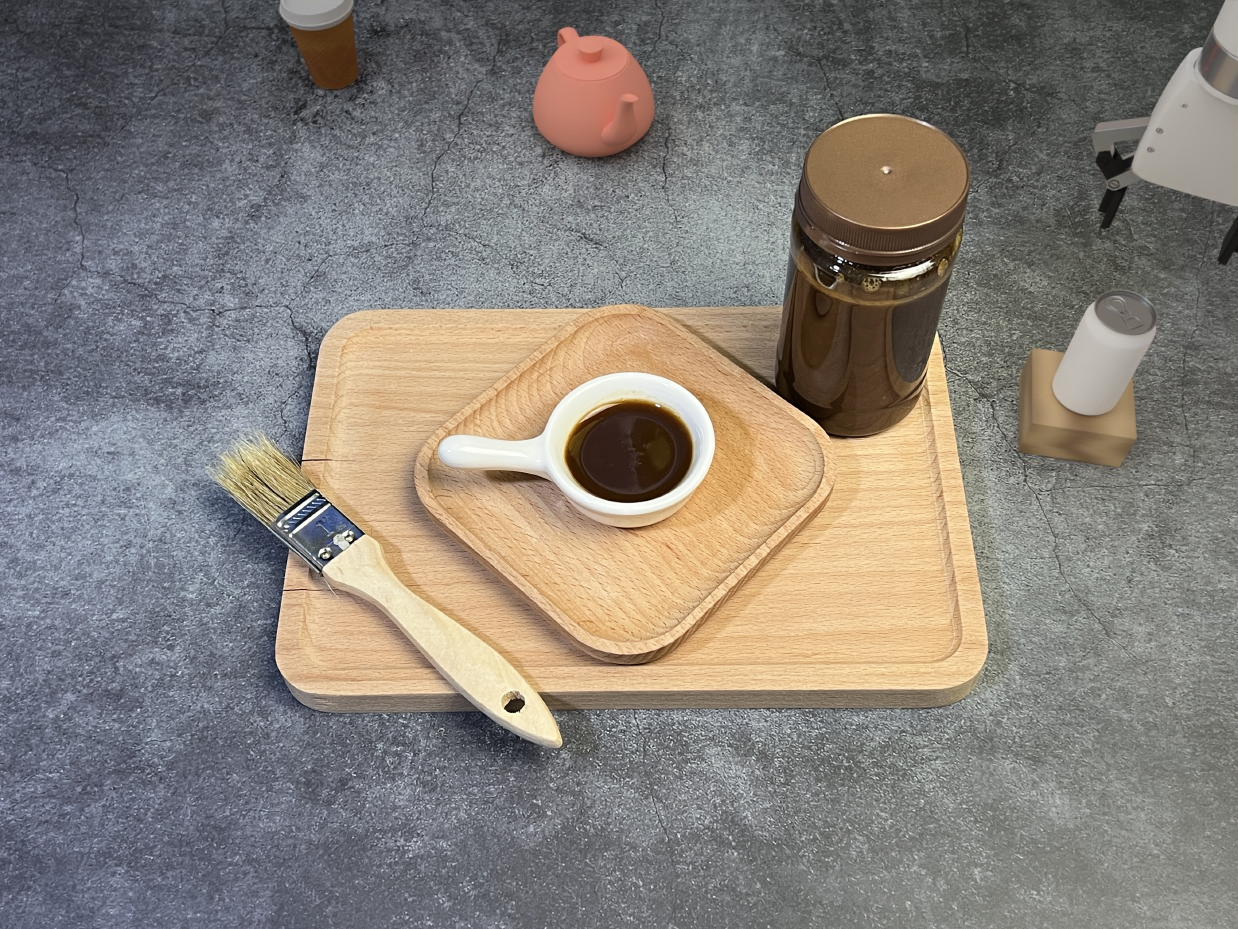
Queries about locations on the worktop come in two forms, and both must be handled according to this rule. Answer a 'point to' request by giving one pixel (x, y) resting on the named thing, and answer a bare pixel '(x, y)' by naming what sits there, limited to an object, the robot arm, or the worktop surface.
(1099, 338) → the can
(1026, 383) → the block
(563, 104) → the teapot
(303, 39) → the disposable coffee cup
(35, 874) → the worktop surface
